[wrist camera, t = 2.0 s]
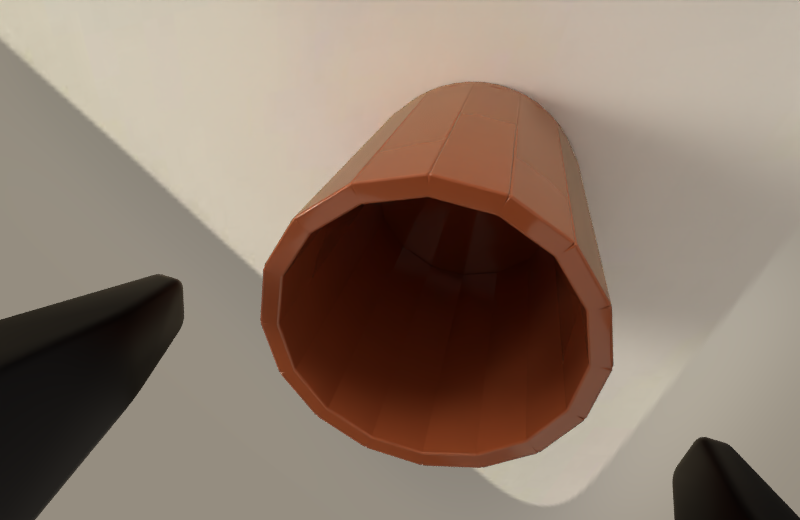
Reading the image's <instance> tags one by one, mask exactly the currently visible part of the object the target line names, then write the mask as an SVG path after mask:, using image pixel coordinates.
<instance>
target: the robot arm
mask: <svg viewBox="0 0 800 520" xmlns="http://www.w3.org/2000/svg"><path fill="white" fill-rule="evenodd" d="M183 319H184V304H183V286H182V283H181V282H180V281H179V280H178V279H175V278H172V277H169V276H165V275H160V274H156V275H152V276H149V277H145V278H142V279H139V280H135V281H132V282H128V283H125V284H121V285H118V286H115V287H111V288H108V289H104V290H101V291H97V292H94V293H91V294H87V295H84V296H80V297H77V298H73V299H70V300H67V301H63V302H60V303H56V304H53V305H50V306H46V307H43V308H39V309H36V310H32V311H29V312H25V313H23V314H19V315H15V316H12V317H9V318H5V319H1V320H0V520H35V519H36V518H37V517H38V515H39V514H40V513H41V512H42V511H43V509H44V508H45V507H46V506H47V504H48V503H49V502H50V501H51V500H52V498H53V497H54V496H55V495H56V494H57V492H58V491H59V490H60V489H61V487H62V486H63V485H64V484H65V483H66V481H67V480H68V479H69V478H70V477H71V475H72V474H73V473H74V472H75V470H76V469H77V468H78V466H80V464H81V463H82V462H83V461H84V459H85V458H86V457H87V456H88V455H89V453H90V452H91V451H92V450H93V448H94V447H95V446H96V445H97V444H98V442H99V441H100V440H101V439H102V438H103V436H104V435H105V434H106V433H107V432H108V430H109V429H110V428H111V426H112V425H113V424H114V423H115V422H116V421H117V419H118V418H119V417H120V416H121V414H122V413H123V412H124V411H125V410H126V408H127V407H128V406H129V404H130V403H131V402H132V401H133V399H134V398H135V396H136V395H137V394H138V392H139V391H140V390H141V388H142V386H143V385H144V384H145V382H146V381H147V379H148V377H149V376H150V374H151V373H152V371H153V370H154V368H155V367H156V365H157V364H158V362H159V361H160V359H161V358H162V356H163V355H164V353H165V352H166V350H167V349H168V347H169V345H170V344H171V342H172V341H173V339H174V338H175V336H176V335H177V333H178V332H179V330H180V328H181V326H182V324H183ZM673 500H674V518H675V520H800V518H799V517H798V516H797V515H796V514H795V513H794V511H793V510H792V509H791V508H790V507H789V506H788V505H787V504H786V503H785V502H784V501H783V500H782V499H781V498H780V497H779V496H778V495H777V494H776V493H775V492H774V491H773V490H772V488H771V487H770V486H769V485H768V484H767V483H766V482H765V481H764V480H763V479H762V478H761V477H760V476H759V475H758V474H757V473H756V472H755V471H754V470H753V469H752V468H751V467H750V466H749V465H748V464H747V462H746V461H745V460H743V458H742V457H741V456H740V455H739V454H738V453H737V452H736V451H735V450H734V449H733V448H732V447H731V446H730V445H728V444H726V443H723V442H720V441H717V440H713V439H710V438H707V437H700V438H698V439H697V440H696V441H695V442H694V443H693V445H692V446H691V447H690V449H689V450H688V452H687V453H686V454H685V456H684V457H683V459H682V460H681V461H680V463H679V464H678V465H677V467H676V469H675V471H674V475H673Z"/></svg>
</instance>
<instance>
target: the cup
mask: <svg viewBox="0 0 800 520" xmlns="http://www.w3.org/2000/svg"><path fill="white" fill-rule="evenodd" d="M261 325H262V328H263V330H264V333H265V335H266V338H267V341H268V343H269V346H270V349H271V351H272V354H273V357H274V359H275V362H276V364H277V367H278V370H279V372H281V375H282V376H283V377H284V378H285V380H286V381H287V382H288V383H289V384H290V385H291V387H292V388H293V389H294V390H295V391H296V392H297V394H298V395H299V396H300V397H301V398H302V399H303V400H304V402H305V403H306V404H307V405H308V406H309V408H310V409H311V410H312V411H313V412H314V413H315V414H316V415H317V416H318V417H319V418H321V419H322V420H324V421H325V422H327V423H329V424H330V425H332V426H333V427H335V428H336V429H338V430H339V431H341V432H343V433H344V434H346V435H347V436H349V437H350V438H352V439H353V440H355V441H357V442H358V443H360V444H361V445H363V446H366V447H367V448H369V449H372V450H376V451H379V452H382V453H385V454H388V455H391V456H394V457H398V458H400V459H404V460H407V461H410V462H413V463H416V464H419V465H422V464H423V465H425V466H448V467H450V466H451V467H472V468H481V467H487V466H491V465H495V464H498V463H502V462H506V461H510V460H514V459H517V458H521V457H525V456H529V455H533V454H536V453H538V452H541V451H542V450H543V449H545V448H546V447H548V446H549V445H550V444H552V443H553V442H555V441H556V440H557V439H559V438H560V437H562V436H563V435H564V434H566V433H567V432H569V431H570V430H571V429H573V428H574V427H576V426H577V425H578V424H580V423H581V422H583V421H584V419H585V418H586V417H587V416H588V414H589V412H590V410H591V408H592V406H593V404H594V403H595V401H596V399H597V397H598V395H599V393H600V391H601V390H602V388H603V386H604V384H605V382H606V380H607V378H608V377H609V375H610V373H611V371H612V367H613V328H612V305H611V301H610V297H609V293H608V288H607V284H606V280H605V276H604V271H603V267H602V263H601V258H600V254H599V250H598V246H597V241H596V237H595V233H594V229H593V224H592V220H591V216H590V212H589V207H588V203H587V199H586V195H585V190H584V186H583V182H582V178H581V173H580V169H579V165H578V161H577V158H576V156H575V155H574V153H573V150H572V148H571V145H570V143H569V141H568V139H567V137H566V135H565V133H564V132H563V130H562V129H561V127H560V125H559V124H558V123H557V122H556V121H555V119H554V118H553V117H552V116H551V115H550V114H549V113H548V112H547V111H546V110H545V109H544V108H543V107H542V106H540V105H539V104H538V103H536V102H535V101H533V100H532V99H530V98H529V97H527V96H526V95H524V94H522V93H519V92H517V91H515V90H513V89H510V88H507V87H504V86H501V85H496V84H491V83H485V82H462V83H453V84H449V85H445V86H441V87H438V88H436V89H433V90H430V91H428V92H426V93H424V94H422V95H420V96H419V97H417V98H415V99H414V100H412V101H411V102H410V103H408V104H407V105H406V106H404V107H403V108H402V109H400V110H399V111H397V112H396V113H394V114H393V115H392V116H391V117H390V118H389V119H388V120H387V121H386V123H385V124H384V125H383V126H382V127H381V128H380V129H379V130H378V131H377V132H376V133H375V134H374V135H373V136H372V137H371V138H370V139H369V140H368V141H367V142H366V143H365V144H364V145H363V146H362V147H361V148H360V149H359V151H358V152H357V153H356V154H355V155H354V156H353V157H352V158H351V159H350V160H349V161H348V162H347V163H346V164H345V165H344V166H343V167H342V168H341V169H340V170H339V171H338V172H337V173H336V174H335V175H334V176H333V177H332V178H331V180H330V181H329V182H328V183H327V184H326V185H325V186H324V187H323V188H322V189H321V190H320V191H319V192H318V193H317V194H316V195H315V196H314V197H313V198H312V199H311V200H310V201H309V202H308V203H307V204H306V205H305V206H304V208H303V209H302V210H301V211H300V212H299V213H298V214H297V215H296V216H295V217H294V218H293V219H292V221H291V222H290V224H289V226H288V227H287V229H286V231H285V232H284V234H283V235H282V237H281V239H280V240H279V242H278V244H277V245H276V247H275V249H274V250H273V252H272V254H271V255H270V257H269V259H268V260H267V262H266V263H265V267H264V269H263V286H262V304H261Z"/></svg>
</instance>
